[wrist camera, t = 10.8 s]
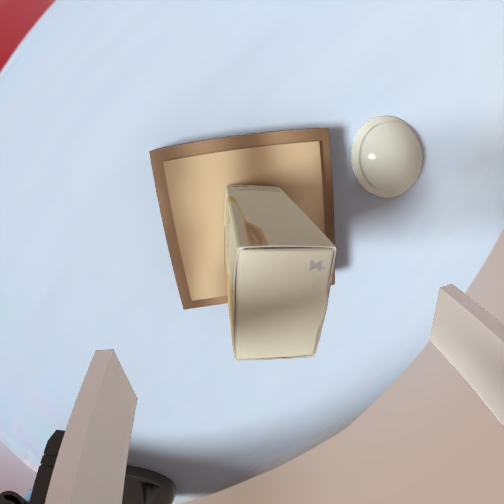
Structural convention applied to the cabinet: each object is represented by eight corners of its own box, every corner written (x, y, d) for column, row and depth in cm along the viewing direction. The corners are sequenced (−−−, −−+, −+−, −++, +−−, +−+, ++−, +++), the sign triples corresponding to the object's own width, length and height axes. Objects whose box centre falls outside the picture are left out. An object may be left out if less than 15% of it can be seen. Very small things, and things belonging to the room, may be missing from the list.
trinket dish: (351, 200, 28) (359, 204, 27) (345, 116, 25) (353, 116, 24) (417, 192, 29) (427, 196, 27) (414, 116, 26) (425, 117, 24)
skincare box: (224, 184, 23) (234, 238, 12) (280, 185, 24) (341, 239, 12) (222, 262, 25) (231, 365, 14) (274, 262, 26) (317, 359, 15)
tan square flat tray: (185, 294, 30) (183, 311, 27) (155, 149, 24) (148, 151, 21) (325, 272, 30) (336, 286, 28) (317, 127, 25) (329, 128, 22)
